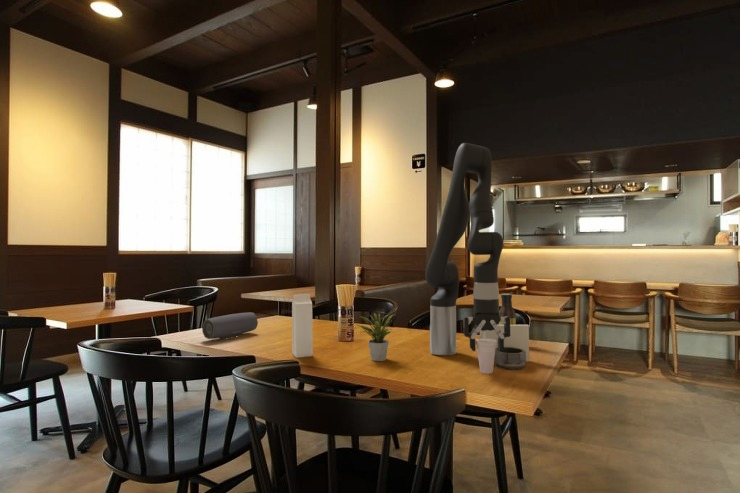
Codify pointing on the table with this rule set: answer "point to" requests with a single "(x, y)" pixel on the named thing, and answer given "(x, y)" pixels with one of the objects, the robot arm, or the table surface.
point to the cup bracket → (510, 358)
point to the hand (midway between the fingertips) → (486, 350)
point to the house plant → (377, 338)
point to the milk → (302, 326)
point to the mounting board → (512, 337)
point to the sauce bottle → (507, 309)
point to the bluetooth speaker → (229, 325)
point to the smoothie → (486, 354)
